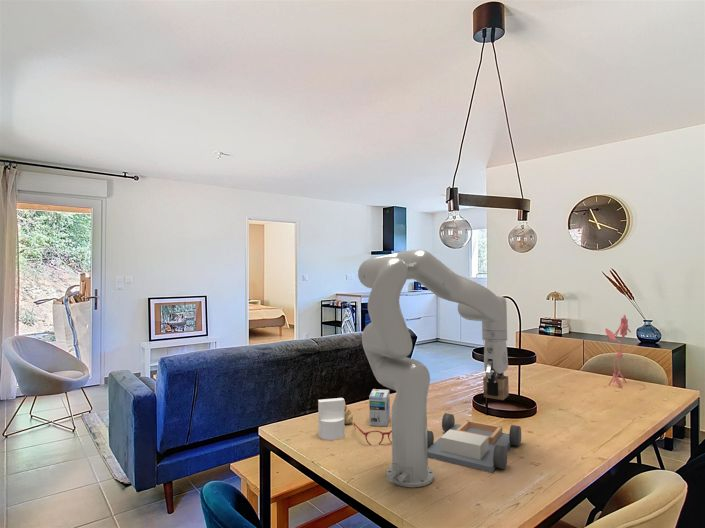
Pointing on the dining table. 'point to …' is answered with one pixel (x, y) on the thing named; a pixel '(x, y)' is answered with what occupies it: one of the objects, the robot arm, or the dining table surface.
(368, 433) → the red eyeglasses
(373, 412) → the light bulb box
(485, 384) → the brown rectangular block
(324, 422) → the cylinder with rectangular tab
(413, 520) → the dining table surface
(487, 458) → the toy car chassis
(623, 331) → the pink coral sprig
